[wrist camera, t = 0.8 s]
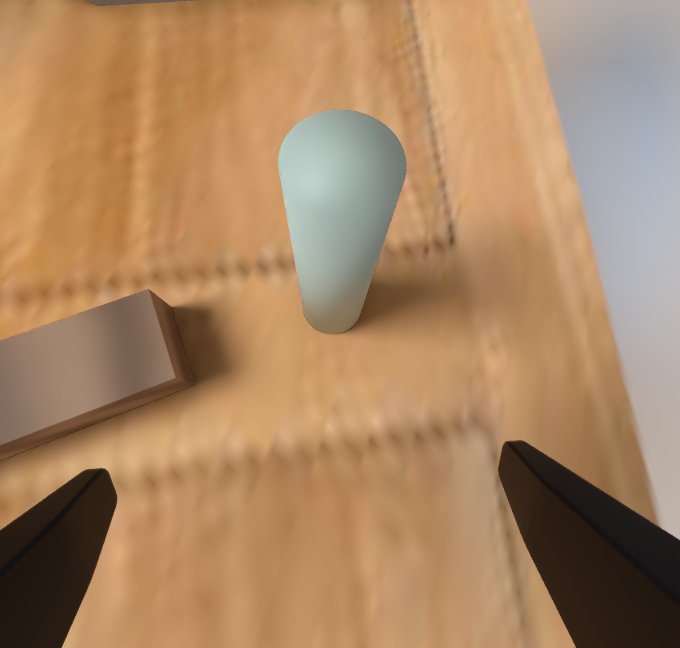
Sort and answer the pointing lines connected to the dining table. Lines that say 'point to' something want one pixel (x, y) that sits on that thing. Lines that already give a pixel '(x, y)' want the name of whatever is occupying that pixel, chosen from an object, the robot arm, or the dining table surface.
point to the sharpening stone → (127, 1)
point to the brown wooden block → (88, 370)
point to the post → (339, 209)
